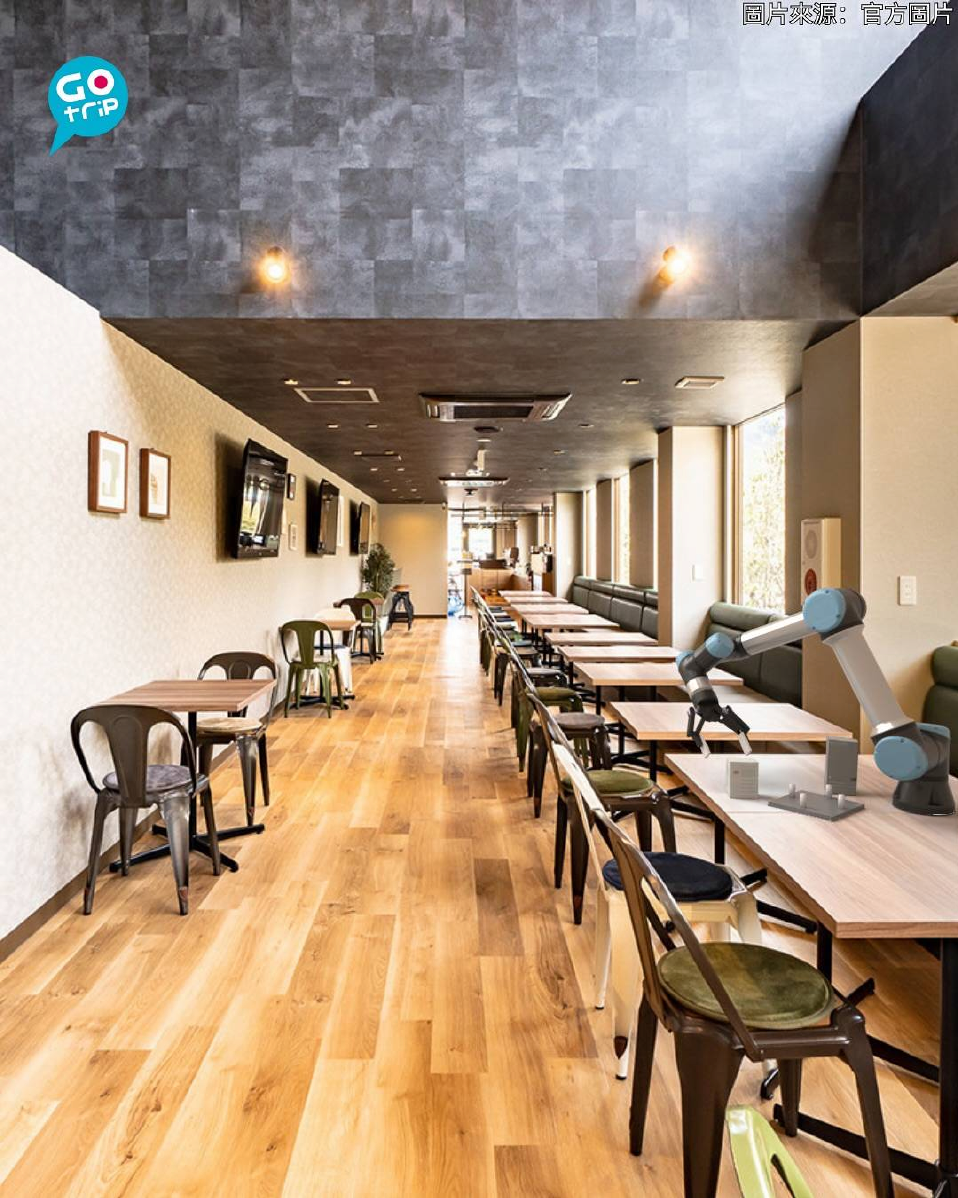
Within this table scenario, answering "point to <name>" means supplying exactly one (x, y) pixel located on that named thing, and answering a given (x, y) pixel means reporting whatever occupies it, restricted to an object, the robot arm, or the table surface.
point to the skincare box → (841, 765)
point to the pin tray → (816, 804)
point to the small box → (742, 777)
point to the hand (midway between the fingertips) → (728, 754)
